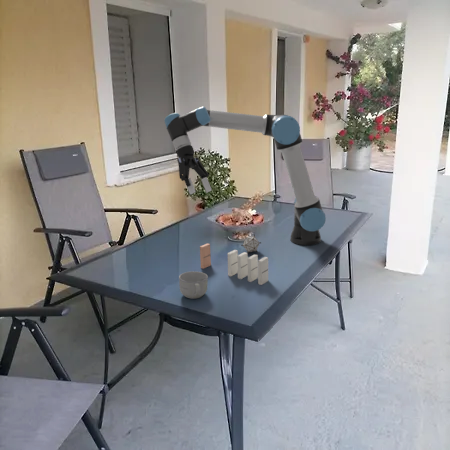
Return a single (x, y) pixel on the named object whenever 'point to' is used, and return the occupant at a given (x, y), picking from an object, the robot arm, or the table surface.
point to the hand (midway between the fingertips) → (201, 192)
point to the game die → (251, 244)
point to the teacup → (193, 284)
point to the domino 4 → (252, 267)
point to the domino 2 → (232, 263)
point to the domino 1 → (205, 255)
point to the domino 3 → (242, 265)
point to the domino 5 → (262, 270)
